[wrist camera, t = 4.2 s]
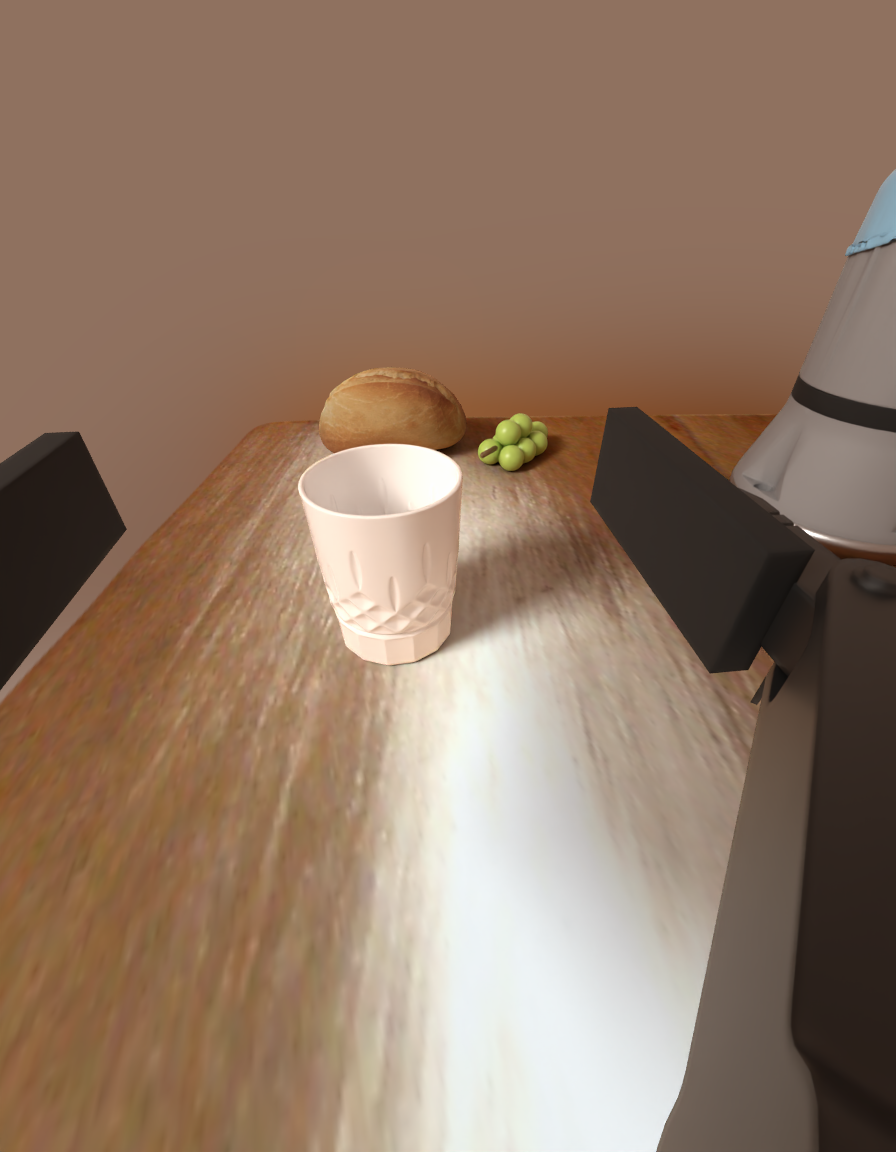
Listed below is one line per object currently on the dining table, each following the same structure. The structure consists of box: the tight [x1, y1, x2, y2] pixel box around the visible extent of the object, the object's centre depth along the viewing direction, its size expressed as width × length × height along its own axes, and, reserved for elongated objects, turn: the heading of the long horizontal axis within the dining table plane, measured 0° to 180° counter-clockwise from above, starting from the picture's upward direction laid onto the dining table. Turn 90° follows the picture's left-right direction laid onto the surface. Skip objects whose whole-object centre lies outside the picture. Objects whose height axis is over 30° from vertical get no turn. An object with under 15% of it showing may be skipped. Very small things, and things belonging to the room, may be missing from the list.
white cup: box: [298, 444, 463, 665], centre depth 26 cm, size 8×8×10 cm
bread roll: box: [319, 367, 467, 453], centre depth 48 cm, size 10×15×8 cm, turn 96°
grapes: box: [478, 413, 548, 471], centre depth 47 cm, size 11×5×4 cm, turn 141°
